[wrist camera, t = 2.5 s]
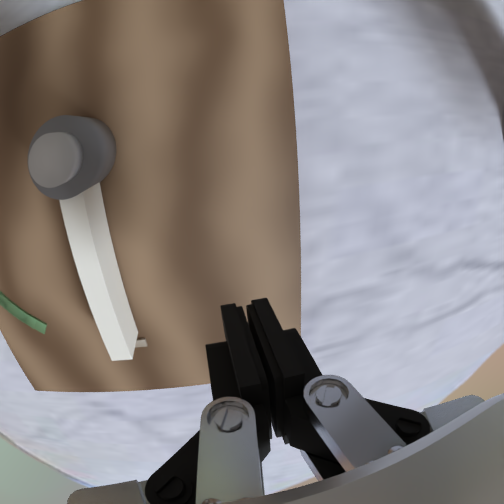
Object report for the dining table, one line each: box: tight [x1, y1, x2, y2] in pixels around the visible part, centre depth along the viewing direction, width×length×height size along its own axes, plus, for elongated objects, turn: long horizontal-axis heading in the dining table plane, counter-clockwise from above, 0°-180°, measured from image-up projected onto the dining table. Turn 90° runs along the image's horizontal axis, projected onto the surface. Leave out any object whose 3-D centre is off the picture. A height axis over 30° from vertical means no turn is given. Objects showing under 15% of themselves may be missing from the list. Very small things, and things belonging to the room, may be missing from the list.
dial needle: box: [28, 115, 138, 361], centre depth 14 cm, size 4×14×4 cm, turn 5°
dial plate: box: [0, 0, 301, 392], centre depth 16 cm, size 24×28×2 cm
